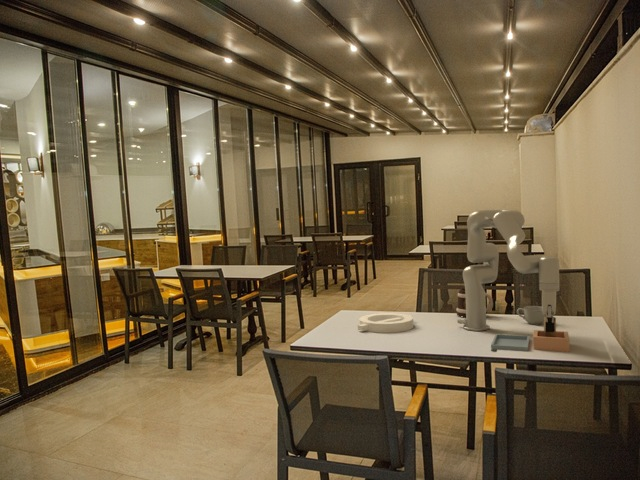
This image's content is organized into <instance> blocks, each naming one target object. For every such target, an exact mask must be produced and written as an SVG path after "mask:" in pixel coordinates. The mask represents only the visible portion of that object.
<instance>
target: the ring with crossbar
mask: <svg viewBox="0 0 640 480" xmlns="http://www.w3.org/2000/svg"><path fill="white" fill-rule="evenodd" d="M358 321H359V324H357V331H362V332H363V331H366V332H372V333H399V332H404V331H405V332H406V331H410V330H411V329H413V328H414V317H413V315H410V314H404V313H397V312H396V313H395V312H394V313H392V312H391V313H390V312H388V313H387V312H384V313H372V314H367V315H362V316H361V317H359V319H358Z"/></svg>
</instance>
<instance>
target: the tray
mask: <svg viewBox="0 0 640 480" xmlns="http://www.w3.org/2000/svg"><path fill="white" fill-rule="evenodd" d="M529 345H530V335H517V334H499V333H497V334H496V333H495V334H494V337H493V340H492V342H491V345H490V350H491V351H490V352H498V350H504V351H508V350H509V351H522V352H523V351H524V352H528V351H529Z"/></svg>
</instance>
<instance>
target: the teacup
mask: <svg viewBox="0 0 640 480" xmlns="http://www.w3.org/2000/svg"><path fill="white" fill-rule="evenodd" d="M520 311H522V313H523V315H522V314H520ZM516 314H517V315H518V316H519V317H520V318H522V320H525V322H526V323H527V324H531V325H536V324H538V325H542V324H544V317H546V314H544V315H543V314H542V306H539V305H528V306H524V307H523V308H522V307H518V309H517V310H516Z"/></svg>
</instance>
